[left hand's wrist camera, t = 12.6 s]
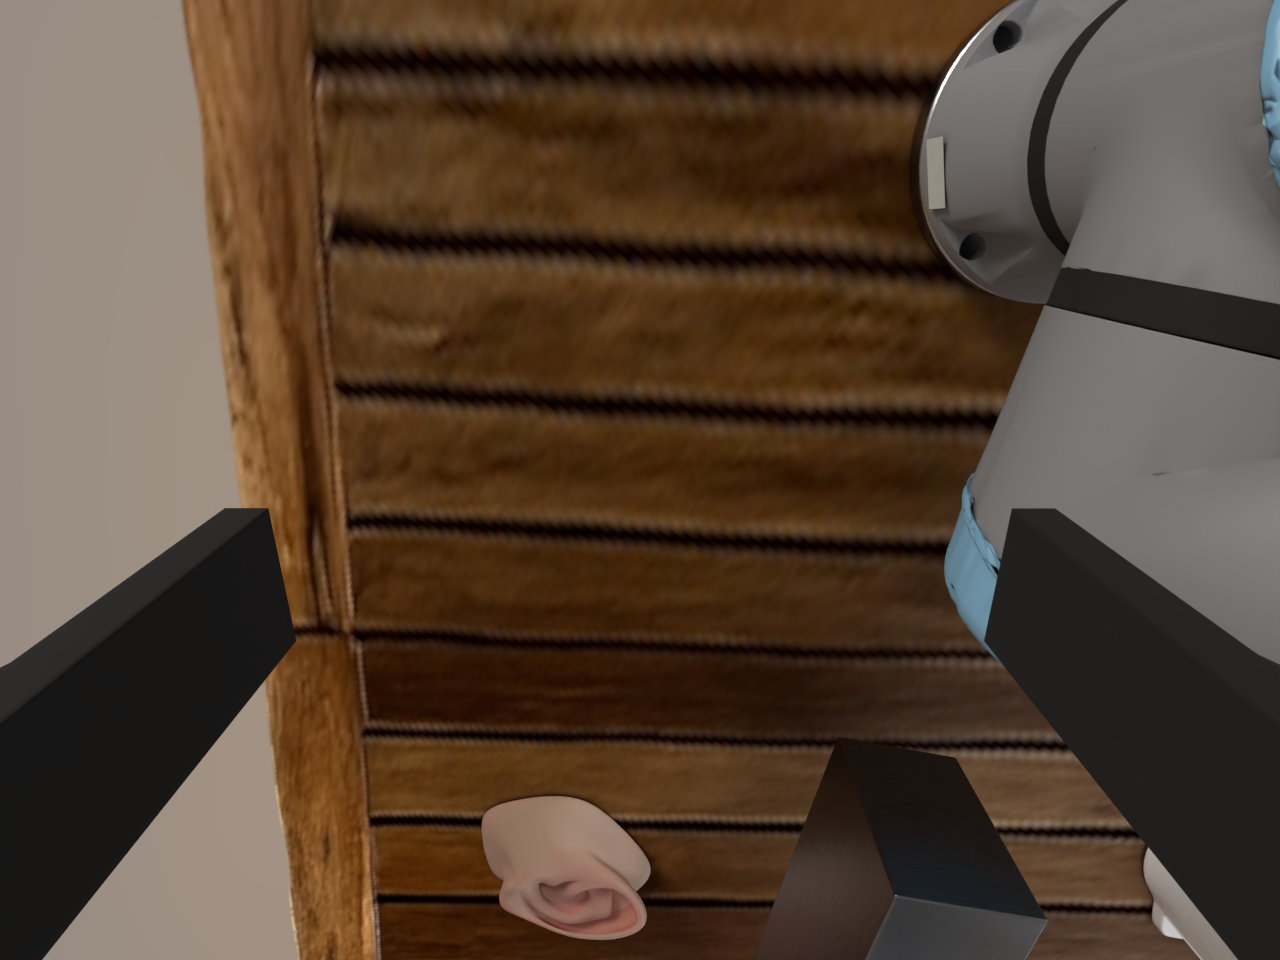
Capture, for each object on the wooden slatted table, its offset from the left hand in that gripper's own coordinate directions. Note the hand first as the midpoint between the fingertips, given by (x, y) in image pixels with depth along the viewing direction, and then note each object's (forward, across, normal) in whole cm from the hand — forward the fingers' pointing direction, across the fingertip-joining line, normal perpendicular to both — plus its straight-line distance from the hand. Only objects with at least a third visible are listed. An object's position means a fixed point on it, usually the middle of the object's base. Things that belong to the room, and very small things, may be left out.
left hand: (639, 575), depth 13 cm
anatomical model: (+30, -6, -41) cm, 51 cm away
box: (+16, +10, -29) cm, 34 cm away
